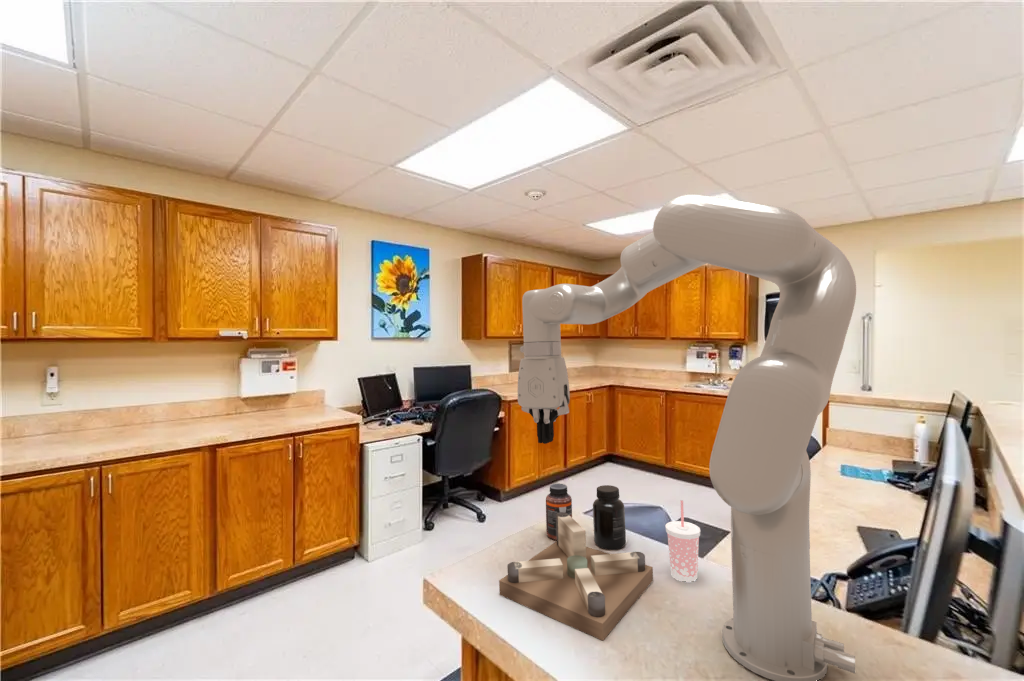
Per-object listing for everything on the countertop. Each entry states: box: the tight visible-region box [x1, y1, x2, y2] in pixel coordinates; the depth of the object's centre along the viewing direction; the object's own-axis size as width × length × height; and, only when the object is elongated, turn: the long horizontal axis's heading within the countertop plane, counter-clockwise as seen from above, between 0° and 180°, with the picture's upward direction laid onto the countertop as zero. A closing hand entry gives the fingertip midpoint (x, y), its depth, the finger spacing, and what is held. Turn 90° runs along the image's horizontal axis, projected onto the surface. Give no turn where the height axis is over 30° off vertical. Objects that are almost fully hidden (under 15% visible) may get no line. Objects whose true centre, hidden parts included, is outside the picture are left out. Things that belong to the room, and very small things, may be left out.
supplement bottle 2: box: [592, 484, 627, 551], centre depth 95 cm, size 7×7×12 cm
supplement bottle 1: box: [545, 483, 573, 541], centre depth 99 cm, size 6×6×11 cm
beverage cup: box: [664, 499, 702, 583], centre depth 81 cm, size 6×6×14 cm
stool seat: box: [498, 540, 654, 641], centre depth 78 cm, size 20×20×5 cm
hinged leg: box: [556, 512, 587, 558], centre depth 86 cm, size 10×3×6 cm, turn 16°
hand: (545, 441), depth 88 cm, fingers closed
